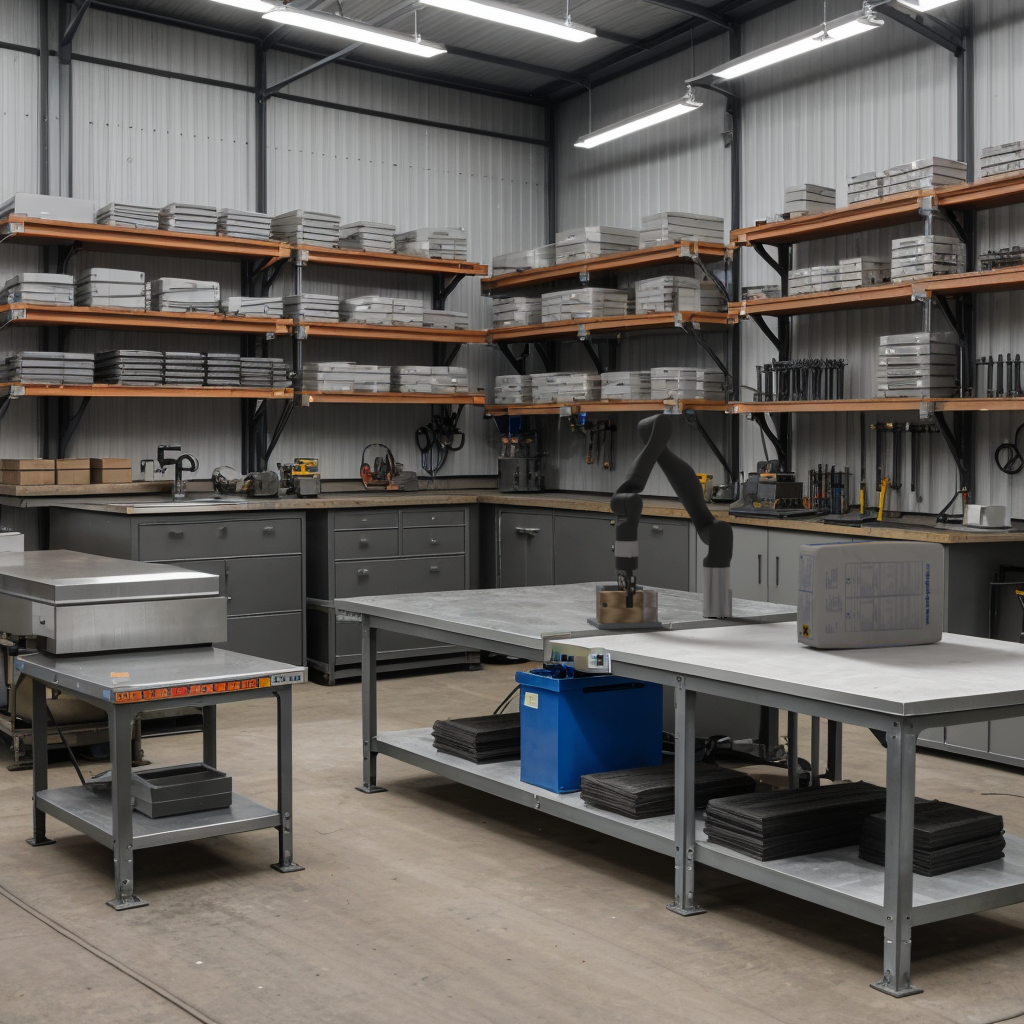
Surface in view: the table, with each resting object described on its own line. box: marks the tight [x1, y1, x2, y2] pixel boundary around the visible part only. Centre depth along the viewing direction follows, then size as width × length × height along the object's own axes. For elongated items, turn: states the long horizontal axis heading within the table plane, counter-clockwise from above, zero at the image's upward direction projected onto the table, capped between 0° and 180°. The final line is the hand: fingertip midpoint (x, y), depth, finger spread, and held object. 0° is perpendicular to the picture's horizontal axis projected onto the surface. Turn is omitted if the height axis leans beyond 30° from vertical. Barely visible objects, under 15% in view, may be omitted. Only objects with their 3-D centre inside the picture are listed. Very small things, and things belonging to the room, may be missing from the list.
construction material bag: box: [796, 540, 945, 649], centre depth 351 cm, size 43×12×30 cm, turn 108°
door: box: [597, 589, 659, 624], centre depth 393 cm, size 19×5×10 cm, turn 101°
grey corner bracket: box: [586, 583, 663, 630], centre depth 397 cm, size 21×15×12 cm
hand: (626, 606), depth 393 cm, fingers open, 6 cm apart
